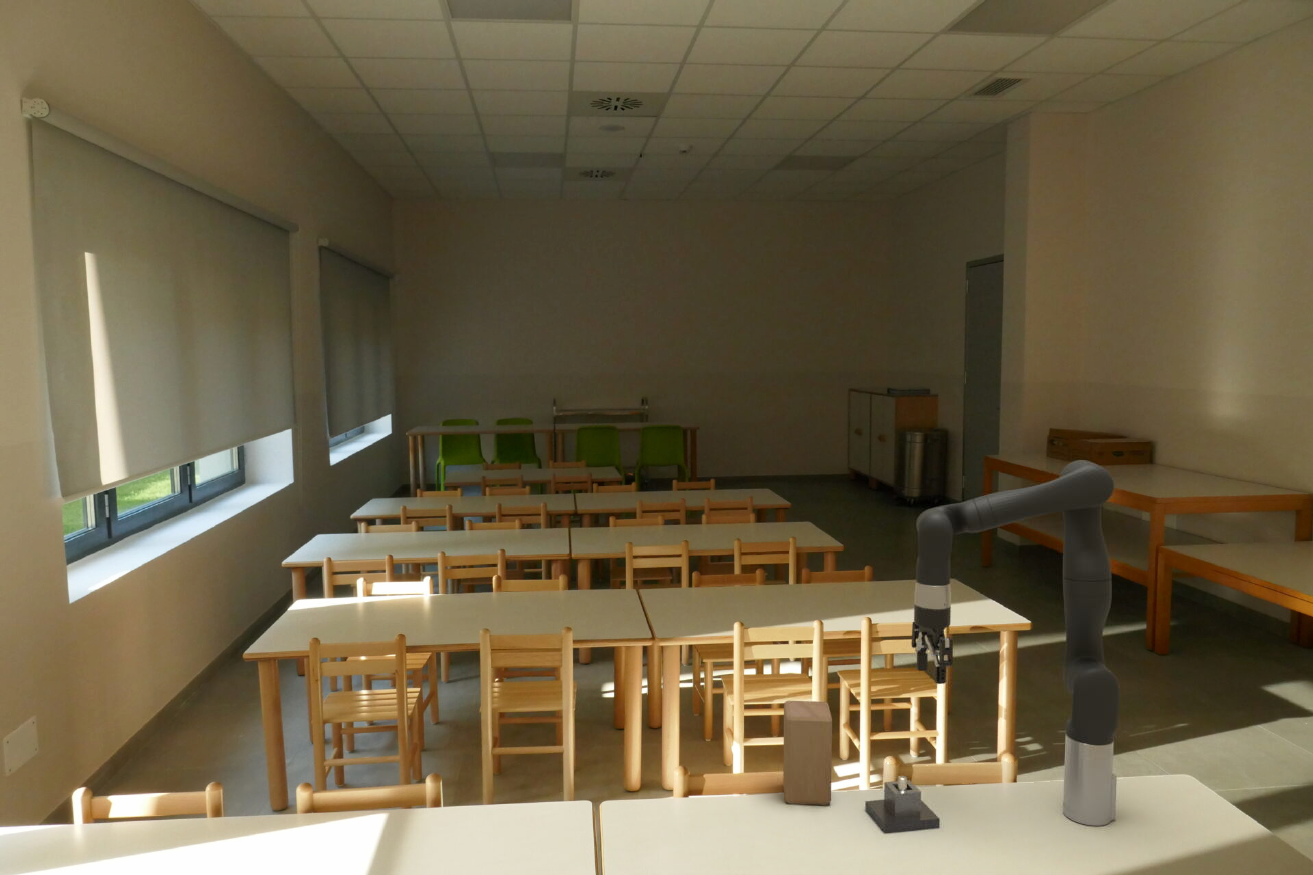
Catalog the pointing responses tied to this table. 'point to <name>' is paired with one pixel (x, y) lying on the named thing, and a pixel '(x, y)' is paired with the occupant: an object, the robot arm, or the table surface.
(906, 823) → the shaft block
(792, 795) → the wooden block
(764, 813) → the table surface
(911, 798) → the collar
